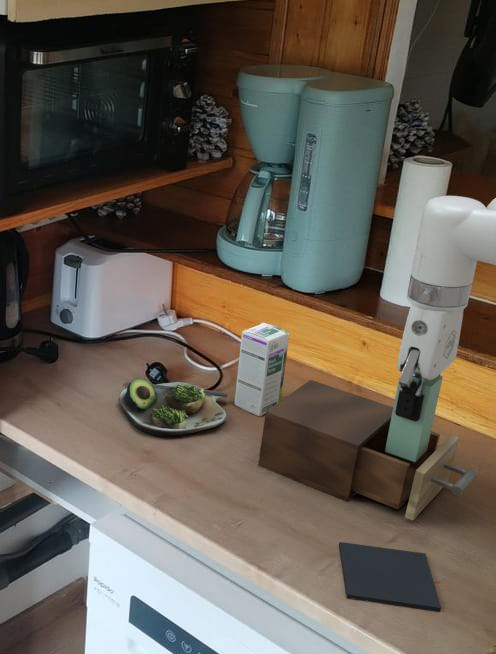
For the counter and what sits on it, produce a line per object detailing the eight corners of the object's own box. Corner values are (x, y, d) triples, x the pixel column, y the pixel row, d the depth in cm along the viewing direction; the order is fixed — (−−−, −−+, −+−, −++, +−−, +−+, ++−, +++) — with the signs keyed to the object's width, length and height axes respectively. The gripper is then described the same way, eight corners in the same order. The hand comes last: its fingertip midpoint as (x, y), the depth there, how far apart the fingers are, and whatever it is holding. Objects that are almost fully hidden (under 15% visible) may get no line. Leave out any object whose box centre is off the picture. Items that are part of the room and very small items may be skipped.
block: (426, 450, 131) (442, 376, 126) (415, 462, 128) (431, 387, 123) (396, 440, 134) (411, 367, 129) (384, 451, 131) (399, 377, 126)
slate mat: (424, 556, 121) (425, 553, 120) (440, 611, 111) (441, 607, 111) (338, 545, 123) (339, 541, 123) (346, 598, 113) (347, 594, 113)
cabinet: (388, 463, 142) (399, 409, 137) (347, 502, 132) (358, 445, 128) (301, 430, 151) (310, 379, 146) (257, 465, 141) (265, 411, 137)
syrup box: (260, 417, 154) (271, 340, 148) (232, 404, 159) (241, 329, 152) (280, 407, 158) (291, 331, 151) (252, 395, 162) (262, 320, 155)
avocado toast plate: (207, 382, 166) (210, 359, 164) (252, 430, 151) (255, 405, 149) (107, 393, 162) (108, 370, 160) (142, 443, 147) (144, 418, 145)
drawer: (478, 493, 133) (490, 447, 129) (444, 533, 124) (457, 485, 120) (361, 449, 144) (369, 406, 140) (322, 483, 135) (330, 438, 131)
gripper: (444, 316, 113) (417, 442, 121) (489, 280, 124) (462, 398, 132) (384, 301, 117) (363, 424, 125) (433, 268, 128) (410, 383, 136)
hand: (414, 410), depth 128 cm, fingers closed on block, 4 cm apart
